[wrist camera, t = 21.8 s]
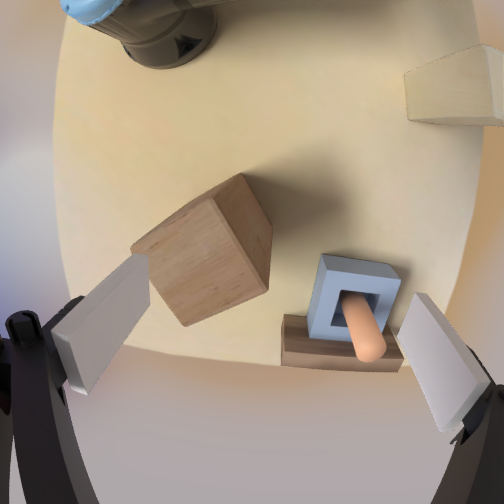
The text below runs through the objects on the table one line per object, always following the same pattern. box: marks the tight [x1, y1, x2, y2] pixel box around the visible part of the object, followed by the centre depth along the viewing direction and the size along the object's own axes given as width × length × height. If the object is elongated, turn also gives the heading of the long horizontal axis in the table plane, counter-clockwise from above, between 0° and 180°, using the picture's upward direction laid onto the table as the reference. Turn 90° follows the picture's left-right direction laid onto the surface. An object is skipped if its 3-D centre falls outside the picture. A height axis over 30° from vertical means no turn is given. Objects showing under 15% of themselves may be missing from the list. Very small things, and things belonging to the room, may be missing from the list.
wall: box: [281, 314, 404, 372], centre depth 46 cm, size 3×20×10 cm, turn 83°
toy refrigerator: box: [404, 44, 504, 127], centre depth 25 cm, size 8×7×21 cm
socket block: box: [307, 254, 401, 342], centre depth 45 cm, size 12×12×6 cm
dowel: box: [339, 290, 387, 362], centre depth 39 cm, size 4×4×14 cm
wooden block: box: [130, 173, 273, 327], centre depth 36 cm, size 10×10×20 cm
